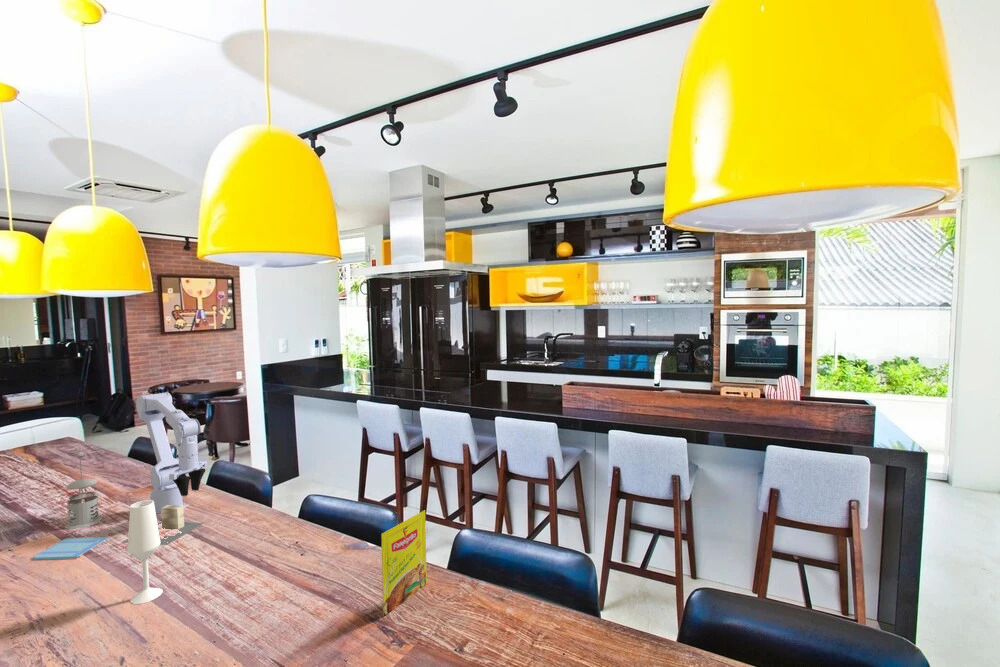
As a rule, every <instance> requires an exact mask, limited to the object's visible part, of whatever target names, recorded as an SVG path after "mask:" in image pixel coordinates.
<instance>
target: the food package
mask: <svg viewBox="0 0 1000 667" xmlns="http://www.w3.org/2000/svg"><path fill="white" fill-rule="evenodd" d="M426 528H427V527H426V510H425V509H424V510H422V511H420V512H419V513H417V514H415V515H414V516H412V517H410V518H408V519H406V520H404V521H402V522H401V523H399V524H397V525H395V526H394V527H392V528H390V529H387V530H385V531H384V532H382V533H381V534H380V535H381V538H380V539H381V569H382V570H381V572H382V576H381V577H382V607H383V609H382V611H383V617H384V618H385V617H386V616H387V615H389V614H390V613H391V612H393V611H394V610H395V609H396V608H398V607H400V606H401V605H402V604H403V603H405V602H406V601H407V600H408V599H410V598H411V597H413V596H414V595H415V594H416V593H418V592H419V591H421V590H422V589H423V588H424V587H426V586H427V585H428V576H427V574H428V573H427V535H426V533H427V531H426Z"/></svg>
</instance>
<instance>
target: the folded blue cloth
mask: <svg viewBox="0 0 1000 667" xmlns="http://www.w3.org/2000/svg"><path fill="white" fill-rule="evenodd" d="M108 539H110V536H96V537H95V536H94V537H93V536H92V537H67V538H66V537H65V538H64V539H62V540H61V541H59V542H57V543H55V544H54V545H51V546H49V547H48V548H46V549H44V550H42V551H41V552H39V553H37V554H35V555H33V557H32V561H40V560H41V561H43V560H44V561H45V560H47V561H49V560H71V559H70V558H78V557H79V558H81V557H80V556H81V555H83V554H85V553H87V552H88V551H90V550H91V549H93V548H95V547H96V546H98V545H100V544H101V543H103V542H106V541H107V540H108ZM79 558H78V559H79Z"/></svg>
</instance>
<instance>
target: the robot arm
mask: <svg viewBox="0 0 1000 667" xmlns="http://www.w3.org/2000/svg"><path fill="white" fill-rule="evenodd" d="M135 407H136V411H137V414H138V417H139V420H141V421H144V422H145V424H146V428H147V431H148V434H149V438H150V442H151V444H152V445H151V446H152V447H153V452H154V455H155V459H156V464H155V465H154V466H153V467H152V468H151V470H150V482H151V485H152V487H153V489H152V490H151V493H150V496H149V497H150V499H149V500H153V501H154V506H155V511H156V514H161V515H162V513H161V508H163V507H165V506H167V505H176V506H183V508H184V509H185V508H187V507H188V506H189V504H186V503H185V504H183V503H184V502H183V500H184V499H183V497H187V496H188V495H189V484H190V488H191V491H196V492H197V491H199V489H200V486H201V481H202V479H203V476H204V474H205V473H206V468H205V467H208V461H207V460H199V446H198V435H199V434H201V424H200V421H199V420H198V419H197V418H190V417H189V416H188V415H187V414H186V413H185V412H184V411H183V410H182V409H177V408H176V407H175V406H174V404H173V397H172V395H171V394H170V393H169V391H165V392H162V393H154V394H153V393H152V394H145V395H139V396H137V398H136V403H135ZM164 418H165V421H166V423H167V424H168V425H169V426H170V427H171V428H172V429H173V434H174V438H175V443H176V444H177V451H178V454H177V455H178V456H177V457H178V458H175V457H174V456H173V452H172V448H171V445H170V442H169V438H168V436H167V432H166V429H165V425H164V421H163V419H164ZM203 467H204V468H203Z"/></svg>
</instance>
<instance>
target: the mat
mask: <svg viewBox="0 0 1000 667" xmlns="http://www.w3.org/2000/svg"><path fill="white" fill-rule="evenodd" d="M157 523H158V525H159V524H161V523H162V520H161V521H159V522H157ZM203 524H205V523H204V522H191V521H190V522H187V521H184V527H182V528H180V529H178V530H179V531H181V532H182V533H181V534H180V533H177V534H176V535H175V536H169V537H168V538H167V536H164V538H167V539H164V538H163V539H161V538H160V541H161V543H160V546H168V545H170V544H171V543H173V542H175V541H176V540H178V539H180V538H181V537H184V536H185V535H186V534H188V533H189V532H192V531H193V530H195V529H197V528H198V527H200V526H201V525H203ZM164 541H165V542H164ZM167 542H168V543H167ZM122 543H127V544H128V538H127V539H125V540H123V541H122Z"/></svg>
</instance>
